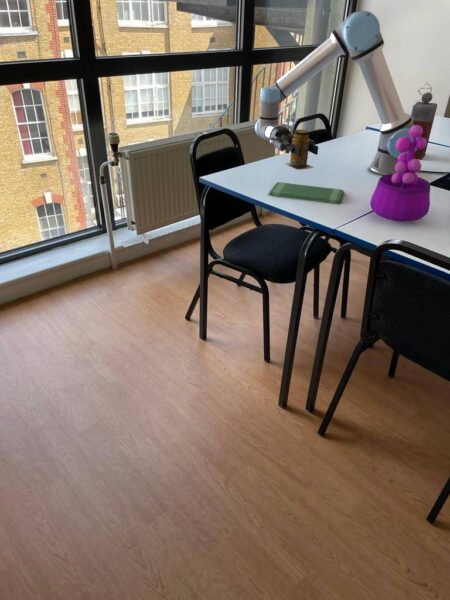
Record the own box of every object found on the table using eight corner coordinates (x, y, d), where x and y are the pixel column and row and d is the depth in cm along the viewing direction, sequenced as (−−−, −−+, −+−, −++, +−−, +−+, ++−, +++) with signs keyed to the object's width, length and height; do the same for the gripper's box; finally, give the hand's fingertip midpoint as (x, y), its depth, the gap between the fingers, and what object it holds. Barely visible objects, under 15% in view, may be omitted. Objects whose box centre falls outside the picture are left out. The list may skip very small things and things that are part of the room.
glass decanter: (426, 154, 222) (441, 91, 206) (421, 160, 214) (436, 95, 198) (407, 151, 226) (420, 89, 210) (401, 157, 217) (415, 93, 202)
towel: (343, 192, 176) (343, 189, 175) (339, 203, 166) (339, 200, 165) (277, 184, 183) (277, 181, 182) (269, 194, 173) (269, 191, 172)
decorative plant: (364, 223, 152) (382, 128, 135) (370, 204, 166) (387, 116, 150) (425, 232, 146) (451, 134, 130) (426, 211, 161) (449, 121, 144)
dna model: (419, 149, 228) (435, 83, 212) (406, 148, 230) (420, 83, 213) (417, 146, 234) (432, 81, 218) (404, 145, 235) (418, 81, 219)
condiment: (301, 161, 170) (304, 128, 164) (314, 168, 164) (318, 133, 157) (284, 164, 168) (287, 129, 161) (297, 170, 161) (300, 135, 155)
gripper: (299, 143, 181) (330, 159, 163) (255, 147, 175) (282, 165, 157) (301, 123, 177) (333, 138, 159) (256, 127, 171) (284, 142, 153)
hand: (308, 151), depth 158 cm, fingers closed on condiment, 6 cm apart
